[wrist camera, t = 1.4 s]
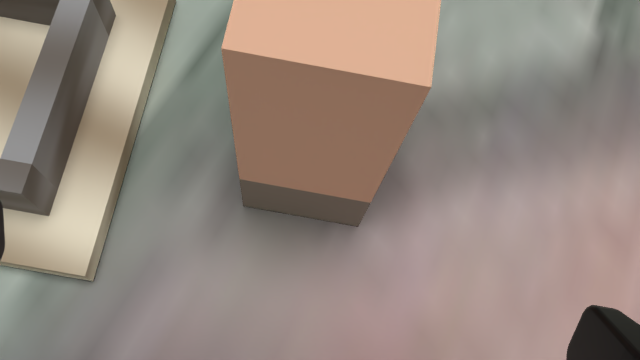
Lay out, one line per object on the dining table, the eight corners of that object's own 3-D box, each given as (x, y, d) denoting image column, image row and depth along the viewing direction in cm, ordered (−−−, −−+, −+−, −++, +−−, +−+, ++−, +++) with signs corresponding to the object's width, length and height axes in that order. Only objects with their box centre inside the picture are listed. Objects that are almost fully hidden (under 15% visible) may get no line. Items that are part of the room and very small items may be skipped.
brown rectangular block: (358, 226, 23) (431, 87, 13) (243, 206, 23) (221, 48, 12) (373, 122, 24) (450, -79, 14) (265, 102, 24) (262, -114, 14)
